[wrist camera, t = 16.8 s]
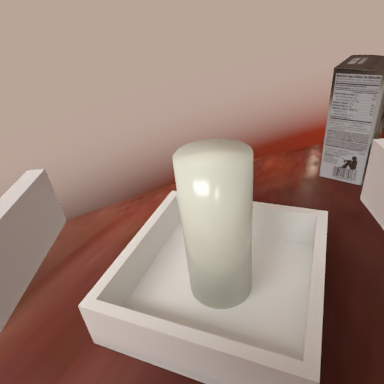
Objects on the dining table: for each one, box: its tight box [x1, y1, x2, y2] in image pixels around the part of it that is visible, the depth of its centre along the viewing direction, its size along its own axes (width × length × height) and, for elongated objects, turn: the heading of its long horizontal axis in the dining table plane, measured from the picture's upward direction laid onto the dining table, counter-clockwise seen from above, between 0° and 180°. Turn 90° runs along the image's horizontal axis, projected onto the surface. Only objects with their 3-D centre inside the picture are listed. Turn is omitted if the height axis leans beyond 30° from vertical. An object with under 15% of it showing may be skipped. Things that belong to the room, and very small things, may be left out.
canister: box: [172, 138, 253, 309], centre depth 27 cm, size 6×6×14 cm
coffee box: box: [319, 55, 384, 185], centre depth 45 cm, size 9×6×16 cm
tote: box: [78, 191, 328, 384], centre depth 30 cm, size 18×18×5 cm
